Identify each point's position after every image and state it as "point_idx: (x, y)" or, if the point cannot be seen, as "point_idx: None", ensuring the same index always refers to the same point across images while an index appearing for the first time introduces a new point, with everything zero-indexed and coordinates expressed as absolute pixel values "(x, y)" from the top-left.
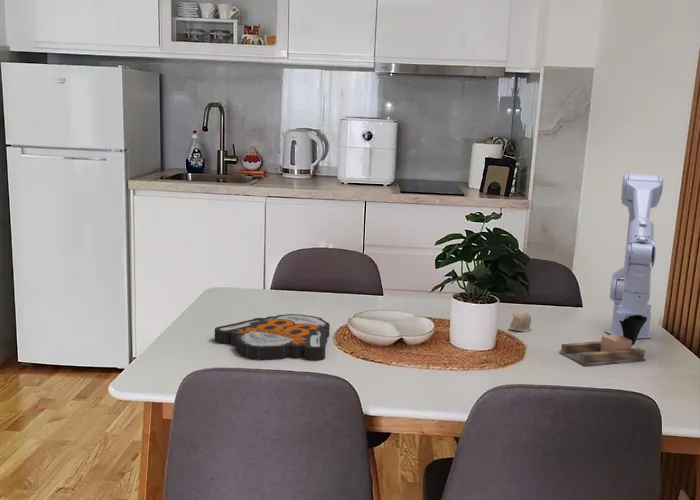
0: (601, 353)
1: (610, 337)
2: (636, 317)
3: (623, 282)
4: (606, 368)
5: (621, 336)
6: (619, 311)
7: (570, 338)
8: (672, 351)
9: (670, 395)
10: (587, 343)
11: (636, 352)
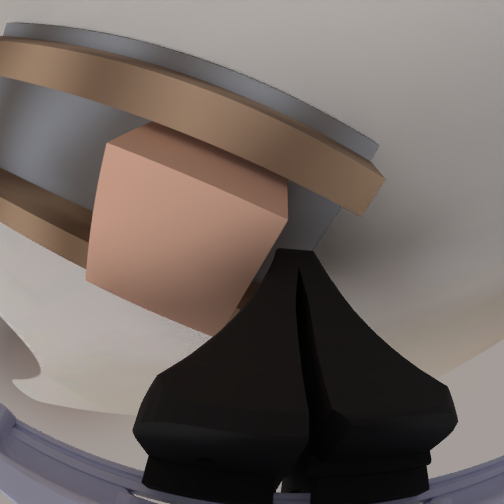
0: (20, 228)
1: (127, 215)
2: (288, 492)
3: None
4: (38, 244)
5: (245, 262)
6: (13, 483)
7: None
8: (472, 329)
9: (75, 387)
10: (67, 75)
11: None
